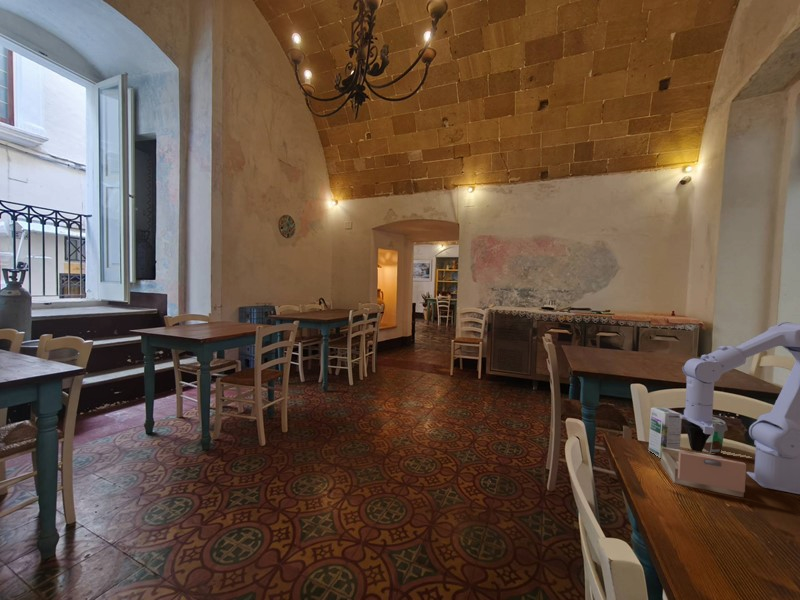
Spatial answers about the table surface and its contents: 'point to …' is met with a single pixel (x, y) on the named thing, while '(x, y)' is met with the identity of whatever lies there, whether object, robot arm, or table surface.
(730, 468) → the panel
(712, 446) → the food container
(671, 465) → the tray
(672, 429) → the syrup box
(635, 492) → the table surface
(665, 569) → the table surface
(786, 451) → the robot arm
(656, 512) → the table surface
